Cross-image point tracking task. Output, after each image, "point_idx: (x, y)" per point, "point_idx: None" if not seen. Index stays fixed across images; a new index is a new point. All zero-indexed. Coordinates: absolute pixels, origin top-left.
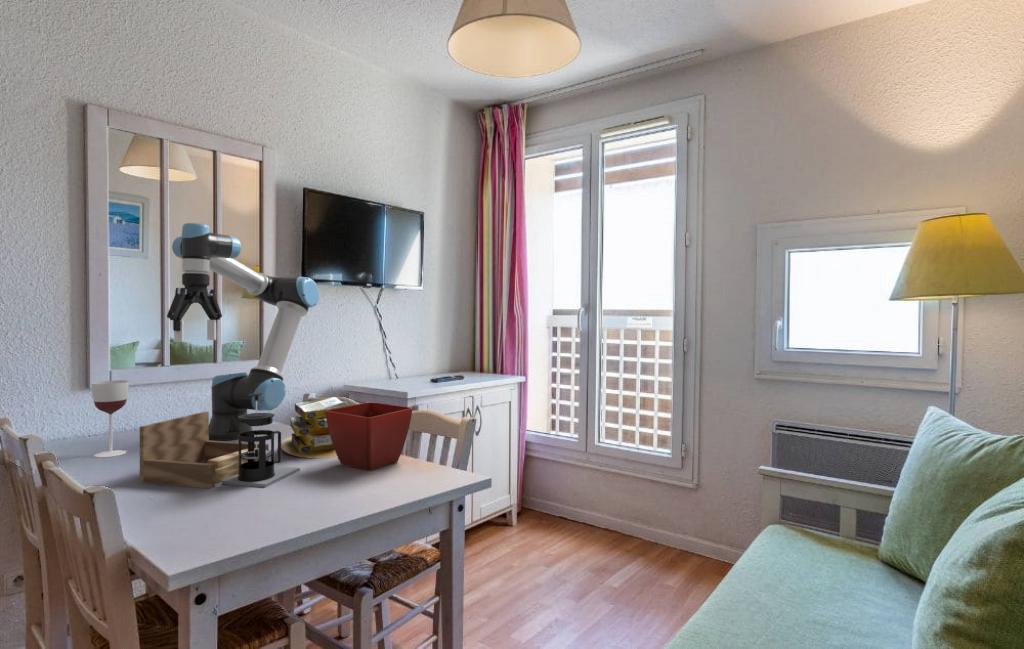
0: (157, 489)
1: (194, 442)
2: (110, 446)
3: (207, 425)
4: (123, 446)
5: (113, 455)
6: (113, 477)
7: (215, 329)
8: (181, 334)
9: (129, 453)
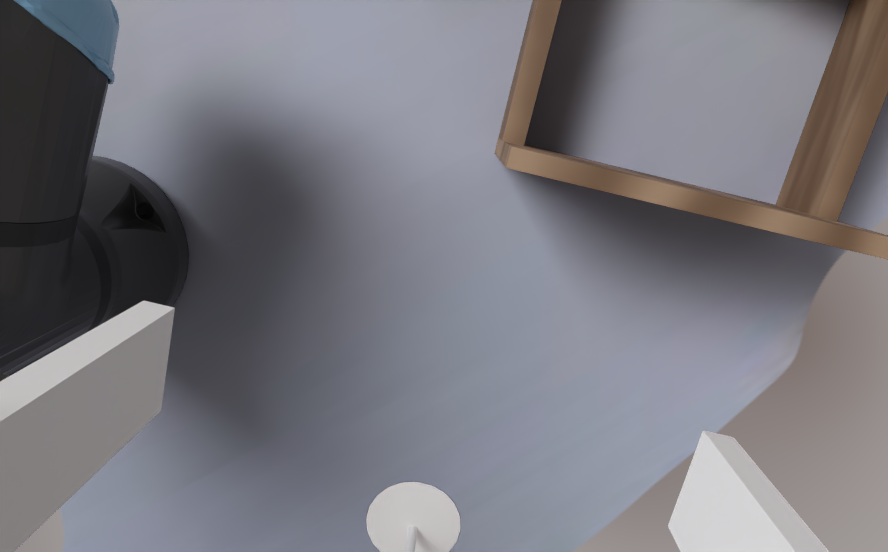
0: (880, 118)
1: (587, 161)
2: (415, 539)
3: (514, 145)
4: (309, 543)
5: (442, 500)
6: (717, 341)
7: (66, 356)
8: (778, 498)
9: (407, 469)
